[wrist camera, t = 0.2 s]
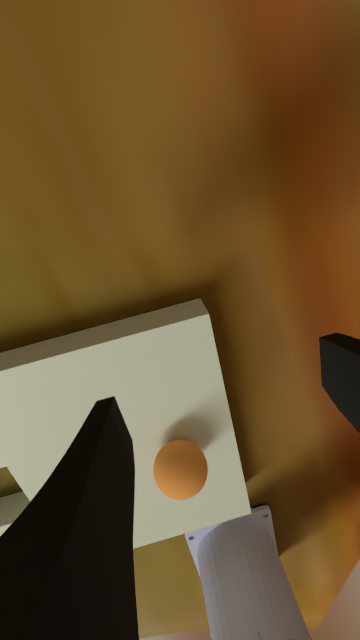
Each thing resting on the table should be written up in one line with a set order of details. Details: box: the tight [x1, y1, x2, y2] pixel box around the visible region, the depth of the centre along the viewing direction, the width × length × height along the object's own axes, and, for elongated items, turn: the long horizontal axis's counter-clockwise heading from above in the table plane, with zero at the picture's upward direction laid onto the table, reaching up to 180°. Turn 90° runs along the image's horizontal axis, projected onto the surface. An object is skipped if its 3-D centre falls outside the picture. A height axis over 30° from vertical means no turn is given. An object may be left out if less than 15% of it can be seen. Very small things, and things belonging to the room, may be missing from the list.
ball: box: [153, 440, 208, 500], centre depth 20 cm, size 3×3×3 cm
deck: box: [0, 298, 252, 549], centre depth 22 cm, size 18×24×4 cm
